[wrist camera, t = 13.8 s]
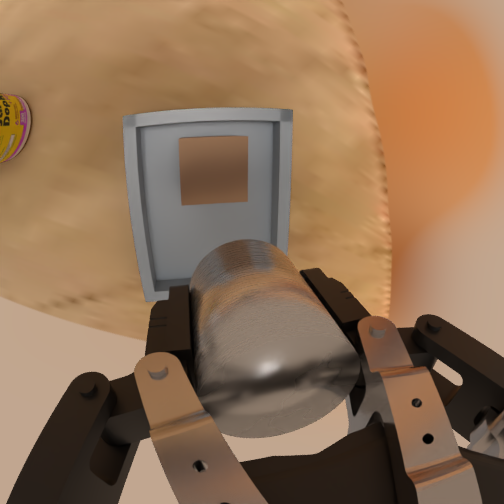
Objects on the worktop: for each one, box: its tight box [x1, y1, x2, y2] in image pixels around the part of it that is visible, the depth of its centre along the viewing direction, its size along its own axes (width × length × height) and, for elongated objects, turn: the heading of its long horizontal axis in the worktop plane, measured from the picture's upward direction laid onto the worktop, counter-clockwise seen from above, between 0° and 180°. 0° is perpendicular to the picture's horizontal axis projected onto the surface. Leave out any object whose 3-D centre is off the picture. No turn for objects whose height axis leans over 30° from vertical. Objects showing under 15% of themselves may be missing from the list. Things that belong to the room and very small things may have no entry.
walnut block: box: [179, 136, 248, 206], centre depth 20 cm, size 4×4×5 cm
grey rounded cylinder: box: [190, 239, 360, 438], centre depth 9 cm, size 4×4×6 cm
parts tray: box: [123, 108, 293, 302], centre depth 23 cm, size 13×16×3 cm
